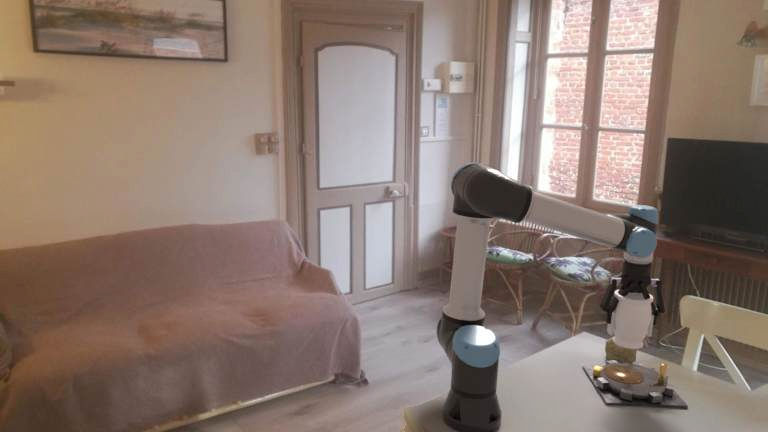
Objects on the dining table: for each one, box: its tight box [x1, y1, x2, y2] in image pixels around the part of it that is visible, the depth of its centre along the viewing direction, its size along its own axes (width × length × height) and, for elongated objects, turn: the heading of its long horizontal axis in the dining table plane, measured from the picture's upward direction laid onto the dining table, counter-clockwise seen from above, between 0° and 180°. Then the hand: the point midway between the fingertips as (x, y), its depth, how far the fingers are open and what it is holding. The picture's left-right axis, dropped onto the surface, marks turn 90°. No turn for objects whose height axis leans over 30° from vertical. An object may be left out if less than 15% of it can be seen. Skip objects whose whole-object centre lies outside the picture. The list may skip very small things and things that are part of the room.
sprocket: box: [593, 360, 675, 403], centre depth 172 cm, size 22×22×8 cm
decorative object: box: [604, 336, 638, 364], centre depth 190 cm, size 9×10×10 cm
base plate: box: [582, 365, 689, 409], centre depth 173 cm, size 22×22×1 cm
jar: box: [612, 288, 654, 350], centre depth 170 cm, size 11×10×15 cm
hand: (628, 334), depth 171 cm, fingers closed on jar, 10 cm apart
